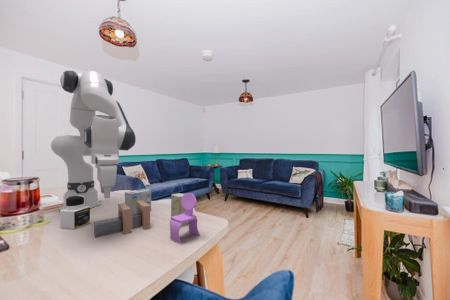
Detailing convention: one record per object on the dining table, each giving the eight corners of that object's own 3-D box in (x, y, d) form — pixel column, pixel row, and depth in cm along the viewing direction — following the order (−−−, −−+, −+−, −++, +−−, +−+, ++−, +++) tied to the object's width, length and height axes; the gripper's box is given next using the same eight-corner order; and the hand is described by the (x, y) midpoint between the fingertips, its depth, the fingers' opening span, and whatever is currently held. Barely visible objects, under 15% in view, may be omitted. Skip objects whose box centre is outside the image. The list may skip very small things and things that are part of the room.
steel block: (94, 234, 73) (94, 221, 73) (144, 222, 84) (144, 211, 84) (95, 237, 70) (95, 224, 70) (147, 225, 81) (147, 214, 81)
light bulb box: (144, 208, 105) (144, 188, 105) (151, 210, 101) (151, 189, 101) (124, 213, 97) (124, 191, 97) (131, 216, 93) (131, 193, 93)
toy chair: (167, 238, 69) (166, 195, 69) (187, 230, 76) (187, 191, 76) (181, 245, 64) (181, 198, 64) (202, 236, 70) (201, 194, 70)
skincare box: (170, 223, 83) (170, 194, 83) (179, 220, 86) (179, 192, 86) (179, 227, 79) (179, 196, 79) (188, 224, 82) (188, 194, 82)
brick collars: (118, 225, 81) (118, 203, 81) (142, 220, 87) (142, 200, 87) (124, 234, 73) (123, 210, 73) (150, 227, 78) (150, 205, 78)
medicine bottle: (74, 229, 78) (74, 198, 78) (59, 228, 79) (59, 198, 79) (90, 222, 85) (90, 194, 85) (76, 221, 86) (76, 194, 86)
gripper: (93, 157, 80) (92, 191, 81) (98, 160, 64) (98, 202, 64) (110, 157, 84) (110, 189, 84) (120, 159, 68) (119, 199, 68)
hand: (105, 195), depth 74 cm, fingers open, 8 cm apart
